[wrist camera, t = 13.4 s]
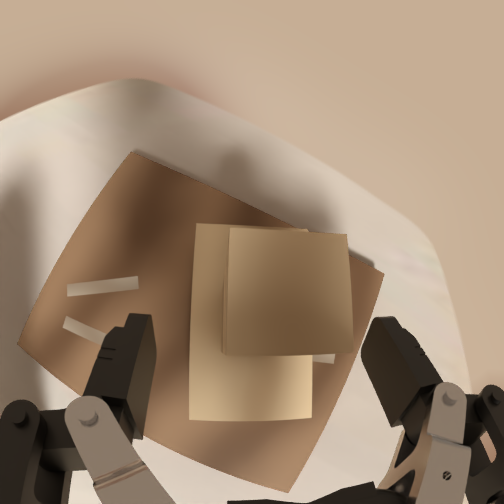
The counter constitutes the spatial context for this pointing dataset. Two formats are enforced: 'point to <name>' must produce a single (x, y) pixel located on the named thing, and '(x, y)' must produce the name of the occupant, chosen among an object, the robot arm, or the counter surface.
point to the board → (174, 317)
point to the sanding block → (264, 319)
